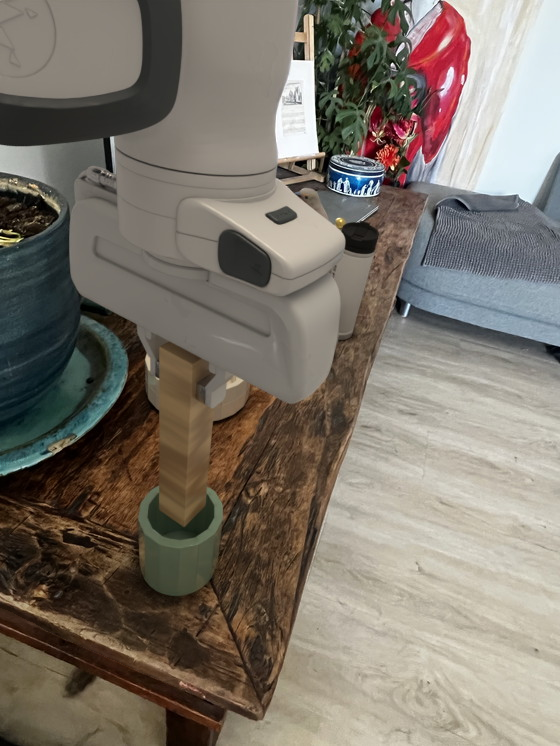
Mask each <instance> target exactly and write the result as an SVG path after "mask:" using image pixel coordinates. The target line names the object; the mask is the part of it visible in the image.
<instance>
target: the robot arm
mask: <svg viewBox="0 0 560 746" xmlns="http://www.w3.org/2000/svg"><path fill="white" fill-rule="evenodd" d="M299 1H300V0H0V146H6V147H38V146H40V147H41V146H51V145H61V144H70V143H79V142H86V141H93V140H101V139H107V138H112V137H113V142H114V161H115V163H114V165H115V173H113V172H110V170H108V169H107V168H104V167H101V166H97V165H90V166H88V167H87V168H86V170H83V171H82V172H80V173H79V175H78V176H77V178H76V179H75V180H74V182H73V183H74V184H73V193H74V202H75V204H73V207H72V209H71V212H70V217H69V218H70V219H69V232H68V233H69V234H68V235H69V236H68V237H69V239H68V241H69V242H68V243H69V246H68V247H69V248H68V249H69V250H68V252H69V270H70V279H71V281H72V283H73V285H74V287H75V289H76V291H77V292H78V293H79V295H81V296H82V297H84V298H86V299H88V300H89V301H91V302H93V303H95V304H96V305H99V306H101V307H103V308H105V309H107V310H108V311H110V312H113V313H114V314H117V315H118V316H120V317H122V318H124V319H126V320H128V321H130V322H132V323H134V324H135V325H136V334H137V336H138V338H139V340H140V342H141V344H142V346H143V349H144V350H145V352H146V354H148V356H149V357H150V373H151V375H153V376H155V377H157V378H159V347H160V346H162V345H163V344H165V343H167V342H169V341H170V342H171V343H173V344H175V345H177V346H179V347H181V348H183V349H185V350H187V351H189V352H191V353H192V354H194V355H196V356H198V357H200V358H202V359H204V360H206V361H208V362H209V371H210V372H211V373H210V374H209V375H207V376H206V378H204V379H202V380H200V381H199V382H197V383H196V393H197V394H196V400H198V401H199V402H201V403H203V404H204V405H206V406H208V407H210V408H214V407H216V406H217V405H218V404H219V403H221V402H222V401H223V400H224V398H225V395H226V387H227V382H228V381H229V380H230V379H231V378H232V377H233V376H236V377H238V378H240V379H242V380H244V381H246V382H248V383H250V385H252V386H253V387H256V388H258V389H259V390H261V391H263V392H265V393H267V394H269V395H271V396H273V397H274V398H276V399H278V400H280V401H282V402H283V403H286V404H289V405H294V404H297V403H299V402H303V400H305V399H307V398H309V397H310V396H311V395H313V393H315V392H316V391H317V390H318V389H319V388H320V387H321V386H322V385H323V383H324V382H325V381H326V380H327V378H328V376H329V374H330V373H331V368H332V365H333V361H334V358H335V352H336V348H337V346H336V342H337V335H338V328H339V319H340V305H341V302H340V293H339V289H338V286H337V284H336V281H335V280H334V278H333V277H332V275H331V274H330V273H329V271H330V270H331V269H332V268H333V267H334V266H335V265H336V264H337V263H338V262H339V261H340V260H341V258H342V256H343V253H344V248H345V237H344V235H343V233H342V232H341V231H340V230H339V229H338V228H337V227H336V226H335V224H333V223H332V222H331V221H330V220H329V221H330V222H329V221H328V220H327V219H325V218H324V217H323V216H322V215H320V214H319V213H318V212H316V211H315V210H314V209H313V208H311V207H310V206H309V205H307V204H306V203H305V202H304V201H303V200H301V199H300V198H299V197H298V196H297V195H295V194H294V193H295V192H294V191H292V190H291V189H290V188H289V186H287V185H286V184H285V183H283V181H281V180H280V179H279V178H277V172H278V171H277V170H278V165H279V164H278V163H279V146H278V139H277V117H278V109H279V106H280V102H281V98H282V96H283V94H284V91H285V89H286V86H287V83H288V81H289V77H290V74H291V67H292V60H293V53H294V51H293V50H294V44H295V38H296V28H297V19H298V12H299ZM215 373H216V374H215Z"/></svg>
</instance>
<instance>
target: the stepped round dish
mask: <svg viewBox="0 0 560 746" xmlns="http://www.w3.org/2000/svg"><path fill="white" fill-rule="evenodd" d="M144 369H145V370H144V372H145V373H144V374H145V379H144V381H145V393H146V395H147V399H148V401H149V402H150V403H151V405H152V406H154V407H155V409H157V410H158V411H159V378H157V377H155V376H153V375H151V373H150V357H149V356H148V354H147V353H146V355H145V358H144ZM250 389H251V384H250V383H248V382H246V381H244V380H242V379H240V378H238V377H236V376H233V377H232V378H231V379H230V380H229V381H228V382H227V387H226V395H225V398H224V400H223V401H222V402H221V403H219V404H218V405H217V406H216V407H214V415H213V422H216V421H221V420H223V419H226V418H228V417H231V416H234V415H235V414H236V413H237V412H239V411H240V410H241V409H242V408H244V406H245V405H246V403H247V401H248V399H249V396H250Z"/></svg>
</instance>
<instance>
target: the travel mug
mask: <svg viewBox="0 0 560 746" xmlns="http://www.w3.org/2000/svg"><path fill="white" fill-rule="evenodd" d="M341 232H342V233H343V235H344V237H345V248H344V253H343V256H342V258H341V260H340V261H339V262H338V263H337V264H336V265H335V266H334V267H333V268H332V272H331V275H332V277H333V278H334V280H335V281H336V284H337V286H338V289H339V293H340V302H341V305H340V319H339V337H338V341H345V340H348V339H350V338H351V337H352V335H353V332H354V328H355V325H356V322H357V318H358V314H359V310H360V307H361V303H362V299H363V296H364V293H365V289H366V285H367V281H368V278H369V274H370V271H371V267H372V264H373V260H374V256H375V253H376V246H377V244H378V240H379V237H380V232H379V231H378V228H376V227H374V226H372V225H371V223H370V222H368V221H364V220H359V222H358V221H351V222H346V224H345V225H343V226H342V230H341Z"/></svg>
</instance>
